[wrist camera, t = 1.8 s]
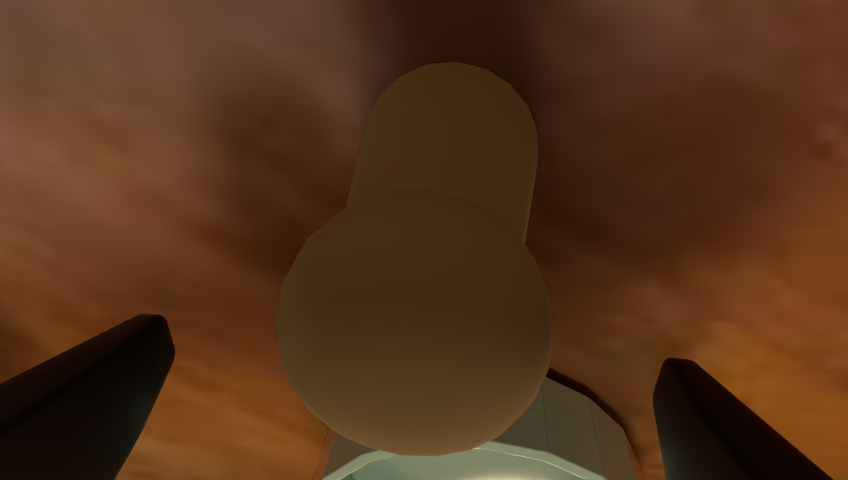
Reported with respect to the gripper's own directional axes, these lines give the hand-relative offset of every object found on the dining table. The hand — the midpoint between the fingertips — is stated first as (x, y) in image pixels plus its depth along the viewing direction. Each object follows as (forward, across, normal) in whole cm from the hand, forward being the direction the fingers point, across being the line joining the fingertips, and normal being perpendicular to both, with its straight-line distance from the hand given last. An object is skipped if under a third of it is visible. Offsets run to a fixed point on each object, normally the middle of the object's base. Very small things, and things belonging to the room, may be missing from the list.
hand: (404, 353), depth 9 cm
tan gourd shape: (+10, 0, 0) cm, 10 cm away
